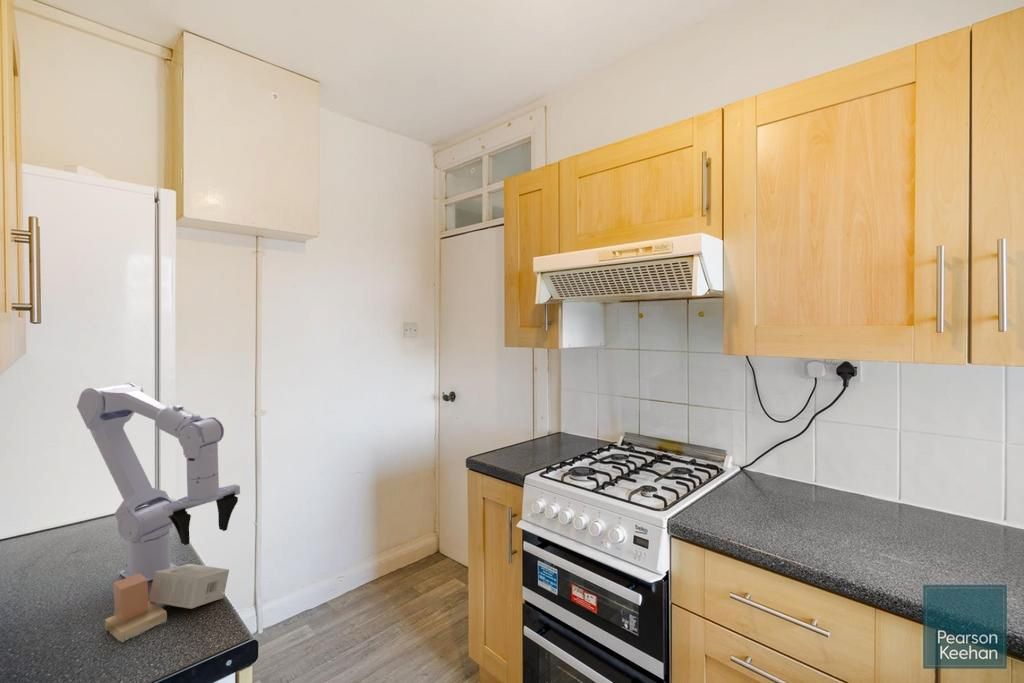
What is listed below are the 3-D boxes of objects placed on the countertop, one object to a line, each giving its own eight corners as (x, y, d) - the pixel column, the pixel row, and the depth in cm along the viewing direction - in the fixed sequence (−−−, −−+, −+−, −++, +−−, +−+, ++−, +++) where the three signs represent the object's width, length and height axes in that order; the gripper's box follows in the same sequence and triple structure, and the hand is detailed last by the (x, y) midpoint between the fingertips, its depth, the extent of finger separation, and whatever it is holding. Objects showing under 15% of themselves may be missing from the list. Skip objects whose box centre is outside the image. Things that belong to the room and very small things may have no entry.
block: (114, 614, 86) (113, 582, 86) (140, 603, 90) (139, 573, 90) (122, 621, 84) (120, 589, 84) (148, 610, 88) (147, 579, 87)
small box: (224, 598, 95) (183, 591, 97) (230, 568, 96) (189, 563, 99) (190, 609, 87) (146, 602, 90) (196, 577, 89) (153, 571, 91)
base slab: (105, 629, 85) (105, 619, 85) (150, 609, 91) (150, 599, 91) (121, 643, 81) (120, 632, 81) (167, 621, 87) (166, 611, 87)
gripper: (173, 488, 92) (175, 555, 93) (246, 469, 105) (248, 527, 105) (157, 482, 96) (159, 546, 96) (230, 464, 108) (231, 520, 109)
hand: (204, 536), depth 101 cm, fingers open, 7 cm apart
